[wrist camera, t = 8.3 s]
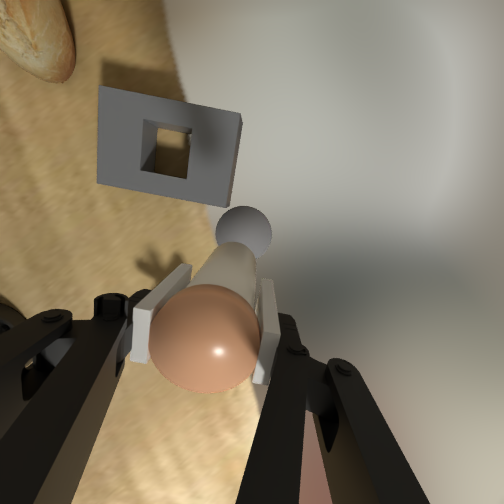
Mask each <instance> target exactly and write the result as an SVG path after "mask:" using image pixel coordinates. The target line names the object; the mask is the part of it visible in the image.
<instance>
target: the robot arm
mask: <svg viewBox="0 0 504 504" xmlns="http://www.w3.org/2000/svg"><path fill="white" fill-rule="evenodd" d="M191 272H192V265H189V264H184V263H181V264H180V265H179V266H178V267H177V268H176V269H175V270H174V271H173V272H171V273H170V274H169V275H168V276H167V277H166V278H165V279H164V280H163V281H162V282H161V283H160V284H159V285H157V286H156V287H155V288H154V289H153V290H148V289H143V290H140V291H137V292H136V293H134V294H133V295H132V296H131V297H129V298H128V297H127V296H126V295H124V294H120V293H107V294H102V295H100V296H97V297H96V298H95V299H94V316H93V318H92V319H91V320H72V313H71V312H70V311H68V310H64V309H51V310H48V311H44V312H41V313H39V314H36V315H34V316H33V317H31V318H29V319H27V320H25V319H24V318H23V317H22V316H21V315H20V314H19V313H18V312H16V311H15V310H13V309H12V308H10V307H8V306H6V305H4V304H1V303H0V504H71V502H72V500H73V497H74V495H75V492H76V490H77V487H78V484H79V482H80V479H81V477H82V474H83V472H84V469H85V466H86V464H87V461H88V459H89V456H90V454H91V451H92V448H93V446H94V443H95V441H96V438H97V435H98V433H99V430H100V428H101V425H102V423H103V420H104V417H105V415H106V412H107V410H108V407H109V405H110V402H111V399H112V397H113V394H114V392H115V389H116V387H117V384H118V381H119V379H120V376H121V374H122V371H123V369H124V364H125V357H126V356H127V354H128V353H129V352H130V351H131V352H130V361H134V362H139V363H145V364H146V363H147V362H148V360H149V359H150V357H151V356H150V353H149V349H148V341H149V330H150V325H151V323H152V321H153V319H154V318H155V316H156V315H157V313H158V312H159V311H160V310H161V309H162V307H163V306H164V305H165V304H166V303H167V301H168V300H169V299H170V298H171V297H172V296H173V295H175V294H176V293H177V292H179V291H181V290H182V289H185V288H186V287H187V286H188V284H189V283H190V280H191ZM255 314H256V316H257V318H258V322H259V327H260V350H259V354H258V359H257V363H256V366H255V369H254V370H253V374H252V383H257V384H263V385H268V384H269V380H270V377H271V380H270V384H269V387H268V391H267V394H266V398H265V401H264V405H263V408H262V412H261V415H260V419H259V422H258V426H257V429H256V433H255V436H254V440H253V443H252V447H251V450H250V454H249V457H248V461H247V464H246V468H245V471H244V475H243V479H242V482H241V486H240V489H239V493H238V496H237V500H236V503H235V504H299V492H300V477H301V465H302V451H303V438H304V424H305V411H306V410H308V411H310V412H312V413H313V419H314V423H315V428H316V433H317V437H318V441H319V446H320V450H321V455H322V459H323V463H324V468H325V472H326V477H327V481H328V486H329V490H330V494H331V499H332V503H333V504H430V503H429V501H428V499H427V497H426V495H425V493H424V491H423V490H422V488H421V486H420V484H419V482H418V480H417V479H416V477H415V475H414V473H413V471H412V469H411V468H410V465H409V463H408V462H407V460H406V458H405V456H404V454H403V452H402V451H401V449H400V447H399V445H398V443H397V441H396V439H395V438H394V436H393V434H392V432H391V430H390V428H389V427H388V425H387V423H386V421H385V419H384V417H383V415H382V413H381V412H380V410H379V408H378V406H377V404H376V402H375V400H374V399H373V397H372V395H371V393H370V391H369V389H368V387H367V386H366V384H365V382H364V380H363V378H362V376H361V374H360V373H359V371H358V370H357V369H356V368H355V366H353V365H352V364H351V363H349V362H347V361H346V360H342V359H339V358H333V359H330V360H329V361H328V363H327V365H326V364H324V363H322V362H319V361H317V360H315V359H313V358H311V357H310V355H309V351H308V349H307V348H306V347H305V346H303V345H302V344H301V341H300V337H299V333H298V330H297V327H296V322H295V320H294V319H293V318H292V316H290V315H287V314H282V313H278V312H277V306H276V299H275V293H274V286H273V280H270V279H265V278H262V281H261V285H260V291H259V295H258V300H257V305H256V309H255ZM32 361H33V363H32V364H31V365H29V364H30V363H31V362H32ZM28 365H29V366H28ZM27 366H28V367H27ZM25 367H26V368H25Z"/></svg>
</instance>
